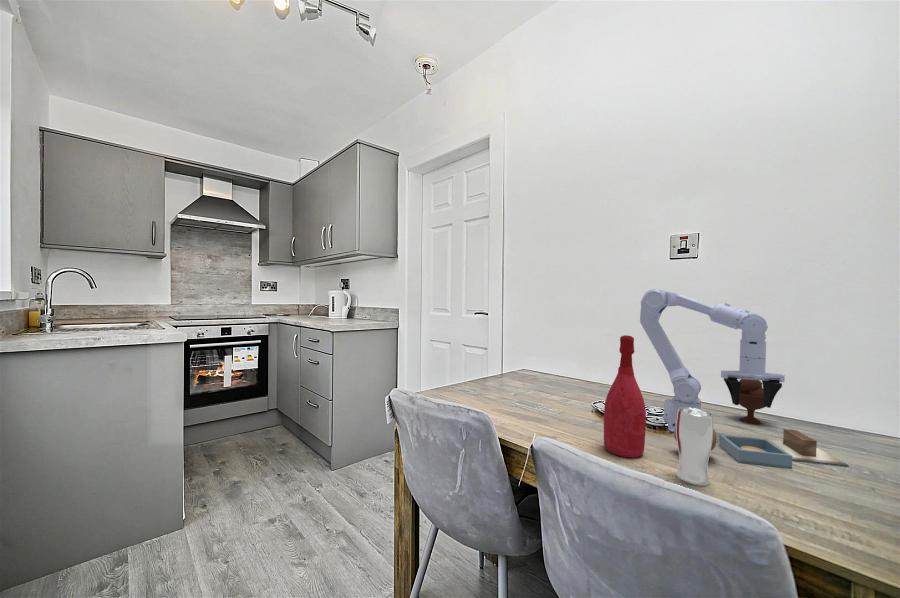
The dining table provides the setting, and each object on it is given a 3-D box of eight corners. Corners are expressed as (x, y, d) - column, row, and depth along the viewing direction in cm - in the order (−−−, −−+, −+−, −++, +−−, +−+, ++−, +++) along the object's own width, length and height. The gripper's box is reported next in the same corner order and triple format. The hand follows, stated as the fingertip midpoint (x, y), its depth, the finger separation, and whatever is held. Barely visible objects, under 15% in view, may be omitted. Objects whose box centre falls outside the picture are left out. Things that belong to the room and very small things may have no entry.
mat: (780, 459, 97) (780, 457, 97) (755, 441, 108) (755, 440, 108) (848, 466, 93) (848, 465, 93) (815, 448, 105) (815, 446, 105)
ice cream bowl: (780, 428, 120) (781, 380, 120) (739, 425, 123) (741, 378, 123) (760, 418, 131) (761, 374, 131) (723, 415, 133) (724, 372, 133)
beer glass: (667, 472, 88) (669, 406, 88) (696, 471, 88) (698, 406, 88) (688, 487, 81) (691, 416, 81) (719, 487, 81) (722, 416, 81)
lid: (785, 458, 96) (786, 440, 96) (759, 440, 108) (760, 425, 108) (843, 464, 94) (844, 446, 93) (810, 446, 105) (811, 429, 105)
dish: (738, 462, 94) (739, 450, 94) (719, 445, 105) (719, 434, 105) (791, 468, 92) (792, 455, 91) (766, 450, 102) (766, 439, 102)
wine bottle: (627, 462, 93) (631, 338, 92) (594, 447, 101) (598, 334, 101) (653, 455, 97) (657, 337, 97) (620, 441, 106) (623, 333, 106)
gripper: (729, 357, 105) (728, 407, 106) (792, 361, 102) (790, 412, 102) (718, 354, 112) (717, 400, 112) (776, 357, 109) (775, 404, 109)
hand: (751, 405), depth 108 cm, fingers open, 7 cm apart
